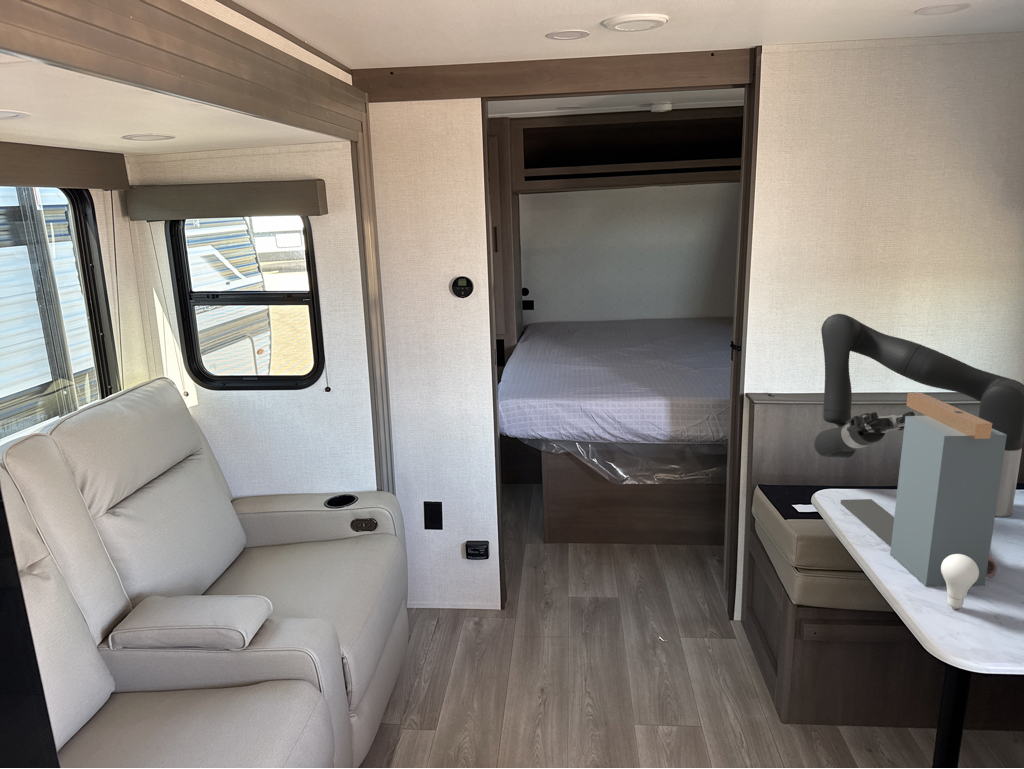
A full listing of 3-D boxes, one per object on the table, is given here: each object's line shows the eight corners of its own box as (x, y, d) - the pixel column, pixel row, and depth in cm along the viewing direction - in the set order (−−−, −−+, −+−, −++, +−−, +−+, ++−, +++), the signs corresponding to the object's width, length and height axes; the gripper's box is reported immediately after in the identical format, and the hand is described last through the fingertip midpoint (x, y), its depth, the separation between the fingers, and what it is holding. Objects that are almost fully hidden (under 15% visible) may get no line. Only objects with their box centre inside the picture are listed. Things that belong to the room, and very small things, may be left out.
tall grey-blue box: (890, 554, 159) (905, 416, 152) (944, 553, 159) (962, 415, 152) (925, 586, 146) (944, 436, 138) (984, 585, 146) (1006, 434, 138)
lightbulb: (929, 600, 141) (935, 549, 138) (958, 598, 141) (965, 547, 138) (950, 617, 135) (957, 564, 132) (981, 615, 135) (988, 562, 133)
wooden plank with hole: (906, 405, 160) (907, 392, 159) (919, 405, 160) (921, 392, 159) (974, 438, 136) (976, 423, 136) (990, 438, 136) (992, 423, 136)
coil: (1001, 561, 147) (975, 525, 164) (975, 556, 148) (952, 520, 165) (995, 581, 148) (970, 543, 165) (970, 576, 150) (947, 539, 166)
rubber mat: (840, 503, 188) (840, 499, 187) (871, 502, 188) (871, 499, 187) (892, 548, 162) (892, 544, 162) (927, 547, 162) (927, 543, 162)
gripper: (832, 417, 184) (861, 400, 169) (888, 416, 184) (922, 399, 169) (836, 446, 182) (866, 432, 167) (893, 445, 182) (928, 430, 167)
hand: (894, 415), depth 168 cm, fingers open, 8 cm apart
